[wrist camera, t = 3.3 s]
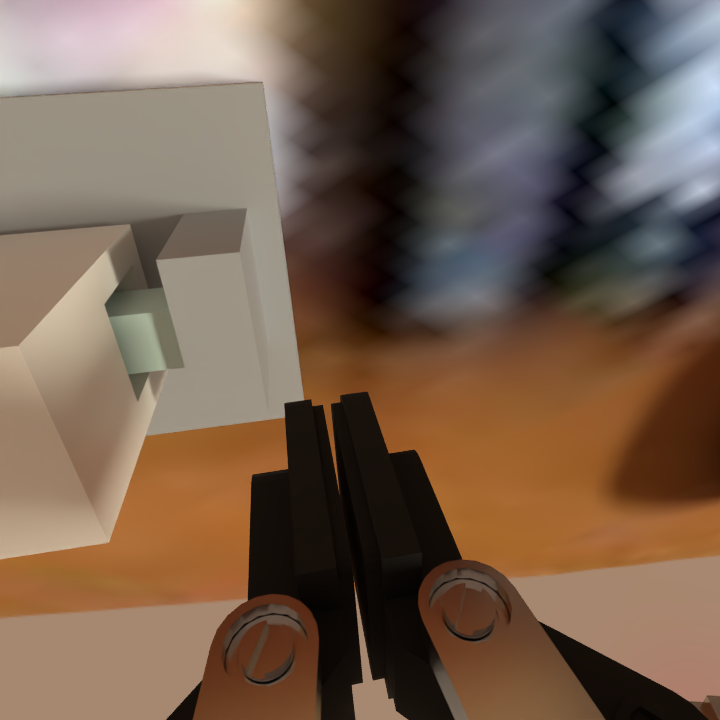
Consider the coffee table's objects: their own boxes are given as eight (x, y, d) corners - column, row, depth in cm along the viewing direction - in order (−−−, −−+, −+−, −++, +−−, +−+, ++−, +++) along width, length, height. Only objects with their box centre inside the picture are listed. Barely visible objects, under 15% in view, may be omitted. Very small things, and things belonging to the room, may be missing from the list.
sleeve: (-47, 239, 15) (-315, 382, 8) (129, 224, 15) (18, 345, 8) (21, 381, 17) (-139, 580, 10) (170, 364, 18) (108, 542, 11)
